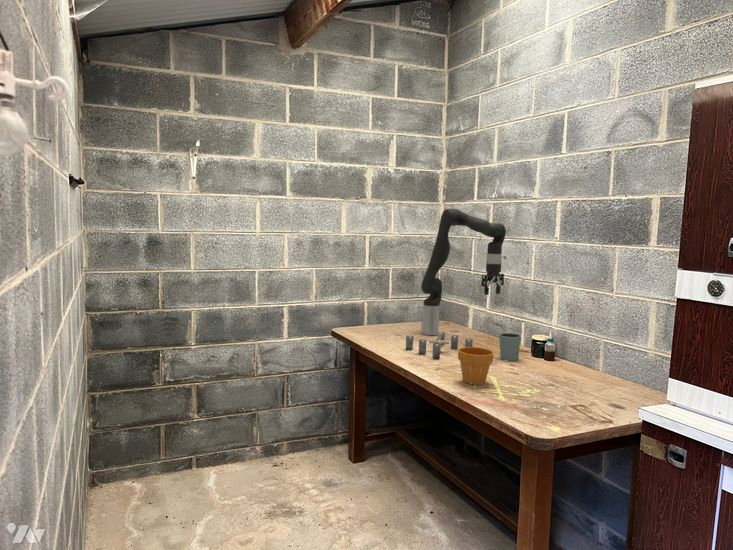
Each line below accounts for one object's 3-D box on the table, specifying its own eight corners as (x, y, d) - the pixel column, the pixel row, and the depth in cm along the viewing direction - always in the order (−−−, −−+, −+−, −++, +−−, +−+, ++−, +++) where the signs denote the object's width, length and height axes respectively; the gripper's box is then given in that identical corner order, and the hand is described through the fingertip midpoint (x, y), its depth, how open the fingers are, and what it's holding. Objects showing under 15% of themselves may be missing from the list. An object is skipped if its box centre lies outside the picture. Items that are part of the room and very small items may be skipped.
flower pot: (498, 382, 216) (499, 351, 215) (481, 389, 206) (483, 357, 204) (467, 374, 225) (469, 345, 224) (450, 381, 215) (451, 350, 213)
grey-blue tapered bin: (523, 361, 252) (525, 336, 250) (505, 362, 248) (506, 337, 247) (511, 356, 261) (513, 332, 260) (494, 357, 258) (495, 333, 257)
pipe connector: (448, 349, 271) (448, 330, 270) (449, 354, 261) (450, 334, 260) (428, 348, 271) (429, 329, 271) (428, 353, 262) (429, 333, 261)
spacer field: (404, 349, 268) (404, 335, 268) (441, 344, 283) (441, 331, 282) (435, 359, 249) (436, 345, 248) (473, 353, 264) (474, 339, 263)
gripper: (497, 261, 274) (495, 292, 276) (478, 262, 266) (477, 294, 268) (509, 263, 268) (507, 294, 270) (489, 263, 260) (488, 296, 262)
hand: (492, 294), depth 269 cm, fingers open, 8 cm apart
